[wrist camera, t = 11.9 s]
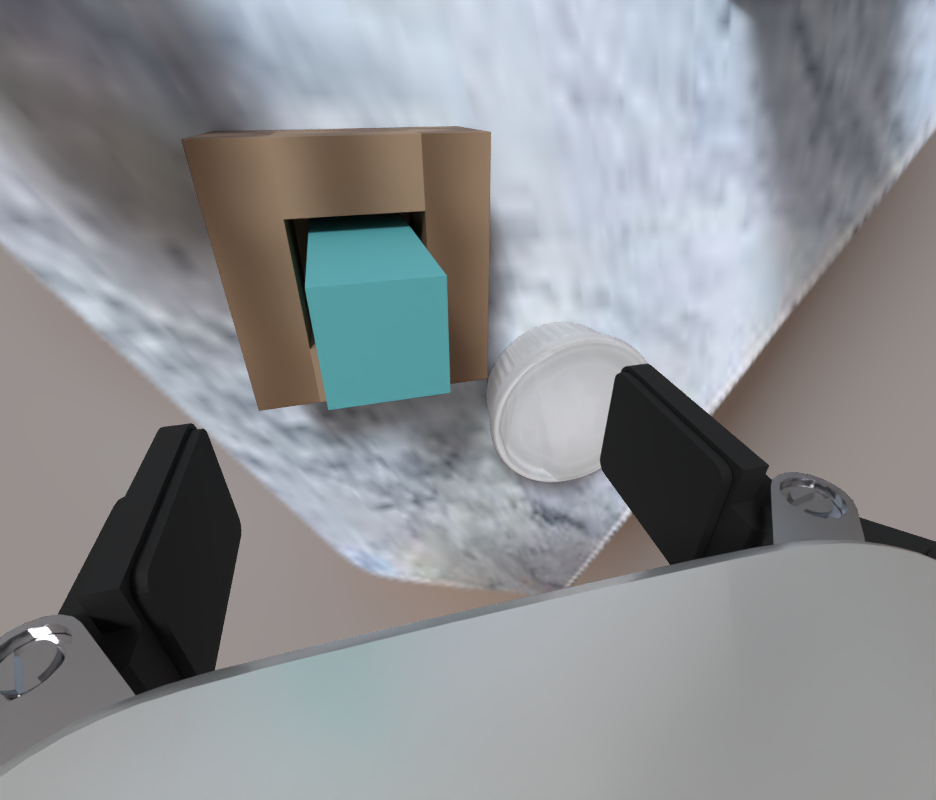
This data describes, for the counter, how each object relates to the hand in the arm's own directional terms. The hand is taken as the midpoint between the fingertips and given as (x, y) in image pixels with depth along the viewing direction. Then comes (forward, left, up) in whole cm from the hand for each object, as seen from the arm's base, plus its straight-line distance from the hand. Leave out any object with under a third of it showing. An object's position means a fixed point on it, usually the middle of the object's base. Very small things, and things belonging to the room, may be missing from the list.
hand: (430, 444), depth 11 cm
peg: (0, 0, -18) cm, 18 cm away
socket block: (0, 0, -19) cm, 19 cm away
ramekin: (-12, +11, -20) cm, 25 cm away
